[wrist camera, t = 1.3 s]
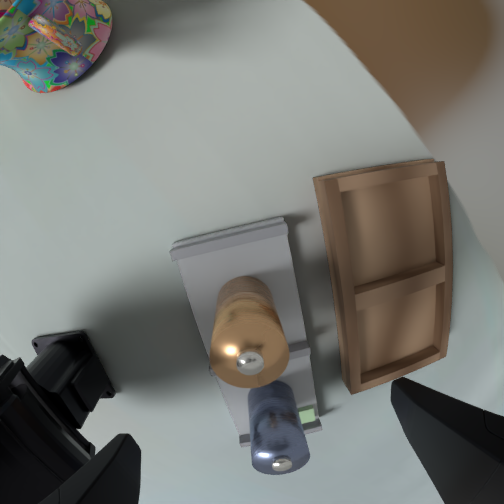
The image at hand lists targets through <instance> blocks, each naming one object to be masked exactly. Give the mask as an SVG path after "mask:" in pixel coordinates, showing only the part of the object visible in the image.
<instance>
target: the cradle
mask: <svg viewBox="0 0 504 504" xmlns="http://www.w3.org/2000/svg"><path fill="white" fill-rule="evenodd" d="M287 234H289V232H288V227H287V223H286V222H284V219H283V217H277V218H273V219H268V220H264V221H260V222H255V223H251V224H247V225H242V226H238V227H234V228H230V229H226V230H222V231H217V232H213V233H209V234H205V235H201V236H197V237H193V238H189V239H185V240H181V241H177V242H174V243H173V244H172V247H173V248H172V249H171V250H170V255H171V259H172V261H175V260H177V264H178V267H179V271H180V274H181V277H182V280H183V284H184V287H185V290H186V293H187V296H188V299H189V303H190V306H191V309H192V312H193V315H194V318H195V321H196V324H197V327H198V329H199V332H200V335H201V338H202V341H203V344H204V347H205V349H206V352H207V355H208V358H209V356H210V347H211V339H212V332H213V325H214V317H215V310H216V303H217V297H218V294H219V291H220V289H221V288H222V286H223V285H224V284H225V283H227V282H228V281H229V280H231V279H233V278H236V277H240V276H251V277H255V278H257V279H259V280H261V281H262V282H264V283H265V284H266V285H267V286H268V288H269V289H270V291H271V294H272V297H273V300H274V303H275V306H276V309H277V312H278V316H279V319H280V322H281V325H282V328H283V331H284V335H285V338H286V341H287V344H288V347H289V353H290V356H289V362H288V365H287V367H286V369H285V371H284V372H283V373H282V375H281V376H280V377H278V378H277V379H276V380H277V381H282V382H284V383H286V384H288V385H289V386H290V387H291V388H292V390H293V393H294V397H295V401H296V404H297V408H298V412H299V415H300V419H301V423H302V427H303V430H304V434H305V435H306V434H309V433H313V432H317V431H321V430H322V425H321V422H320V420H319V414H318V408H317V401H316V394H315V388H314V381H313V375H312V368H311V362H310V356H309V355H311V351H310V346H309V344H308V342H307V338H306V333H305V327H304V321H303V316H302V310H301V305H300V299H299V294H298V288H297V283H296V278H295V273H294V268H293V263H292V257H291V252H290V247H289V243H288V238H287ZM209 360H210V358H209ZM209 371H210V374H211V376H216V379H217V382H218V384H219V387H220V389H221V392H222V394H223V397H224V399H225V402H226V404H227V407H228V409H229V412H230V414H231V417H232V419H233V421H234V424H235V426H236V429H237V431H238V433H239V437H240V445H241V447H247V446H251V443H250V429H249V414H248V399H247V397H248V393H249V391H250V390H251V389H252V388H239V387H235V386H232V385H230V384H228V383H226V382H224V381H223V380H221V379H220V378H219V377H218V376H217V375H216V374H215V372H214V371H213V369H212V367H211V364H210V366H209Z"/></svg>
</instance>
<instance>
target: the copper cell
mask: <svg viewBox="0 0 504 504" xmlns="http://www.w3.org/2000/svg"><path fill="white" fill-rule="evenodd" d="M289 356H290V353H289V347H288V344H287V341H286V338H285V335H284V331H283V328H282V325H281V322H280V319H279V316H278V312H277V309H276V306H275V303H274V300H273V297H272V294H271V291H270V289H269V288H268V286H267V285H266V284H265V283H264V282H262V281H261V280H259V279H257V278H255V277H251V276H240V277H236V278H233V279H231V280H229V281H228V282H227V283H225V284H224V285H223V286H222V288H221V289H220V291H219V294H218V297H217V303H216V310H215V317H214V325H213V332H212V339H211V347H210V356H209V358H210V364H211V367H212V369H213V371H214V372H215V374H216V375H217V376H218V377H219V378H220V379H221V380H223V381H224V382H226V383H228V384H230V385H232V386H235V387H239V388H257V387H262V386H265V385H267V384H269V383H271V382H273V381H275V380H276V379H277V378H278V377H280V376H281V375H282V373H283V372H284V371H285V369H286V367H287V365H288V362H289Z"/></svg>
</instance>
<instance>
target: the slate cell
mask: <svg viewBox="0 0 504 504" xmlns="http://www.w3.org/2000/svg"><path fill="white" fill-rule="evenodd" d="M247 399H248V414H249V429H250V443H251V456H252V465H253V467H254V468H255V469H256V470H257V471H259V472H261V473H265V474H271V475H280V474H286V473H290V472H293V471H296V470H298V469H300V468H301V467H303V466H304V465H305V464H306V463H307V462H308V460H309V458H310V453H309V449H308V445H307V441H306V438H305V434H304V430H303V427H302V423H301V419H300V415H299V412H298V408H297V404H296V401H295V397H294V393H293V390H292V388H291V387H290V386H289V385H288V384H286V383H284V382H282V381H277V380H275V381H273V382H271V383H269V384H267V385H265V386H262V387H257V388H252V389H251V390H250V391H249V393H248V397H247Z"/></svg>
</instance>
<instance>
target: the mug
mask: <svg viewBox="0 0 504 504" xmlns="http://www.w3.org/2000/svg"><path fill="white" fill-rule="evenodd" d="M111 29H112V14H111V11H110V8H109V7H108V5H107V4H106V3H105V2H103V1H102V0H0V65H3V66H6V67H8V68H11V69H12V70H14V71H16V72H17V73H18V74H19V75H20V76H21V78H22V81H23V82H24V84H25V85H26V86H27V87H28V88H29V89H30V90H32V91H34V92H38V93H48V92H53V91H56V90H59V89H61V88H63V87H65V86H67V85H69V84H70V83H72V82H73V81H75V80H76V79H77V78H79V77H80V76H81V75H82V74H83V73H85V72H86V71H87V70H88V69H89V68H90V66H91V65H92V64H93V63H94V62H95V61H96V59H97V58H98V57H99V55H100V54H101V52H102V51H103V49H104V47H105V45H106V43H107V41H108V39H109V36H110V33H111Z"/></svg>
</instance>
